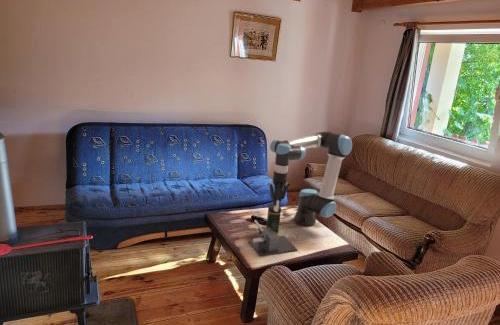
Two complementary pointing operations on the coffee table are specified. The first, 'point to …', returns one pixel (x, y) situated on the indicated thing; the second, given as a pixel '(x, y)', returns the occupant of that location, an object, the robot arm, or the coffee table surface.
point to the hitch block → (272, 243)
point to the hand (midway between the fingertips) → (275, 210)
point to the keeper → (259, 227)
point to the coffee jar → (273, 218)
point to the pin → (259, 239)
